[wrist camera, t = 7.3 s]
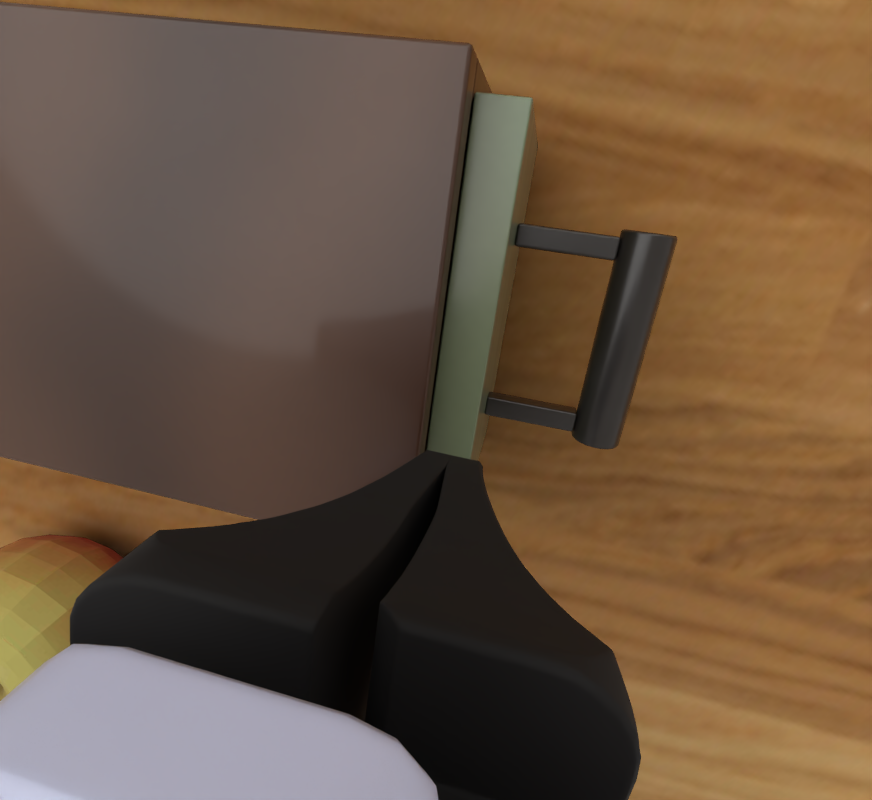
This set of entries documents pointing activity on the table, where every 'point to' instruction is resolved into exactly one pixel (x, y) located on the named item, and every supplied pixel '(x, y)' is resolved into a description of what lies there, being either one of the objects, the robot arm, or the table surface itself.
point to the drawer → (492, 285)
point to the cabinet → (224, 251)
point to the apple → (42, 598)
